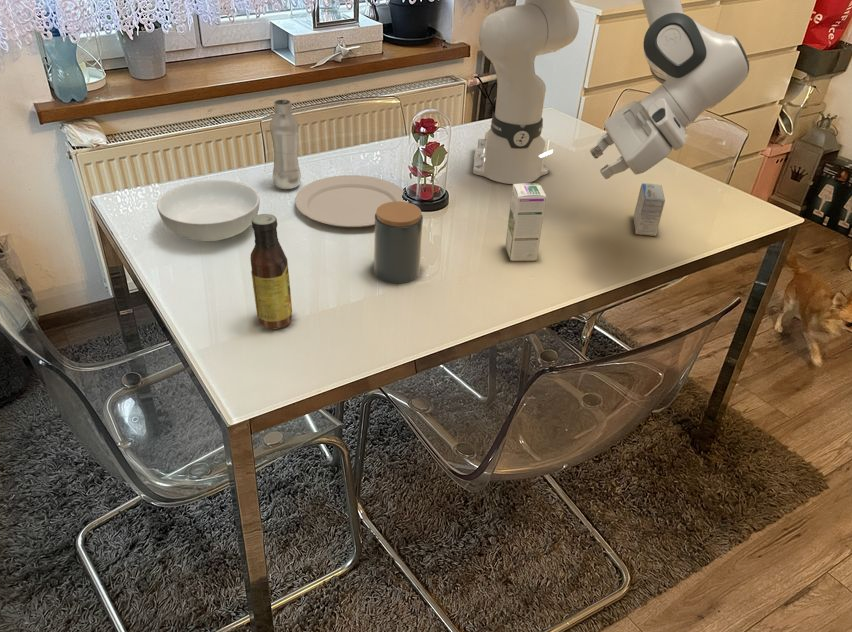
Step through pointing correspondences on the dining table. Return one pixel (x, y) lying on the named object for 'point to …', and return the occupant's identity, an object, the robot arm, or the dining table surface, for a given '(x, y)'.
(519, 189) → the syrup box
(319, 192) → the plate
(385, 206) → the canister
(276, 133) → the plastic bottle
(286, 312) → the sauce bottle
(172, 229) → the serving bowl
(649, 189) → the medicine box
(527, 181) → the robot arm
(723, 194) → the dining table surface
